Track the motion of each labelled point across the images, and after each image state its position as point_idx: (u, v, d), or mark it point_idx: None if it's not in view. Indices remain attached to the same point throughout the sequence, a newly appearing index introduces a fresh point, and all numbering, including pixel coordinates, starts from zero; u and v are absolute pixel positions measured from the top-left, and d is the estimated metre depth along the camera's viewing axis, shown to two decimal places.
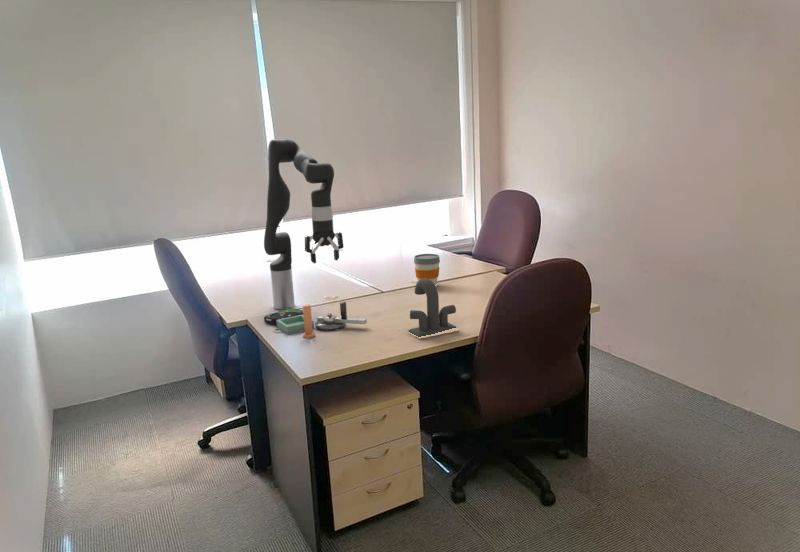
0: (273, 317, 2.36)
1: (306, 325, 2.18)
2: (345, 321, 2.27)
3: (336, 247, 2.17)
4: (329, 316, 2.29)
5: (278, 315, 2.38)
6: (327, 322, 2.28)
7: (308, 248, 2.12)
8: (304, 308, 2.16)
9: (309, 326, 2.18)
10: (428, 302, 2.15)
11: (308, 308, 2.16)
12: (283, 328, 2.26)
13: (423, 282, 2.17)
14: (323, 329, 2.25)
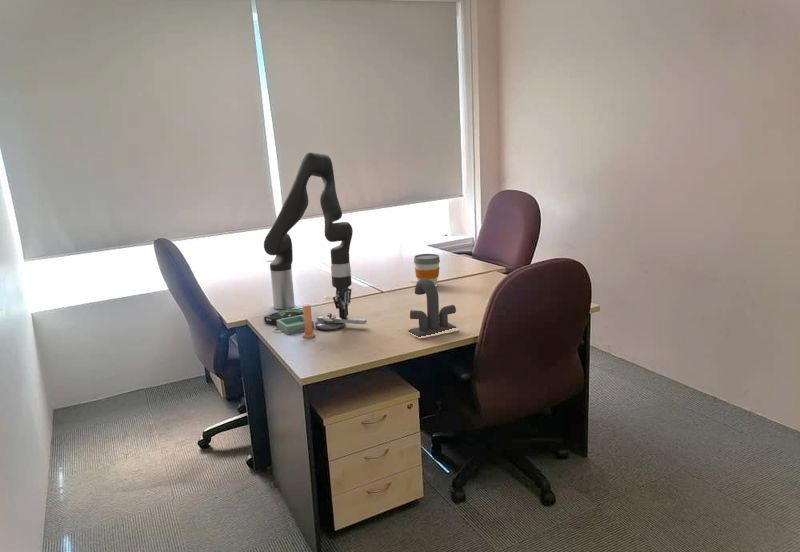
0: (273, 317, 2.36)
1: (306, 325, 2.18)
2: (345, 321, 2.27)
3: None
4: (329, 316, 2.29)
5: (278, 315, 2.38)
6: (327, 322, 2.28)
7: None
8: (304, 308, 2.16)
9: (309, 326, 2.18)
10: (428, 302, 2.15)
11: (308, 308, 2.16)
12: (283, 328, 2.26)
13: (423, 282, 2.17)
14: (323, 329, 2.25)
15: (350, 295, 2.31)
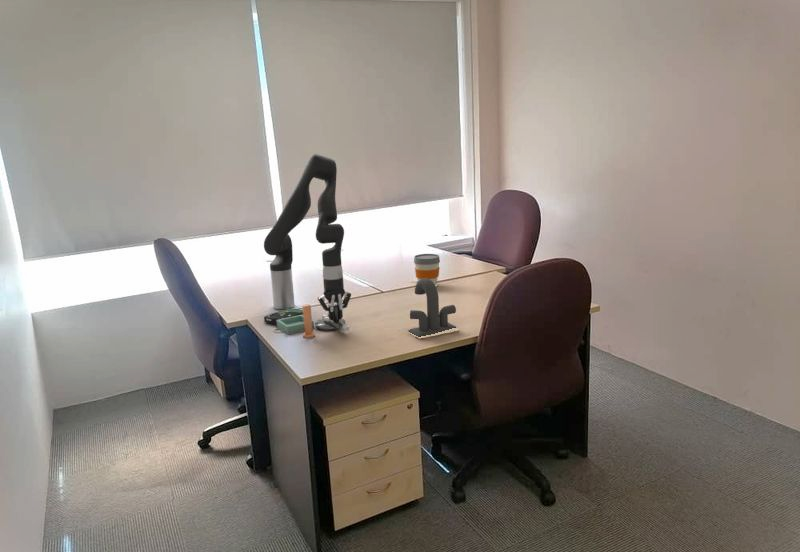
0: (273, 317, 2.36)
1: (306, 325, 2.18)
2: (334, 324, 2.24)
3: None
4: (328, 316, 2.29)
5: (278, 315, 2.38)
6: (324, 321, 2.29)
7: None
8: (304, 308, 2.16)
9: (309, 326, 2.18)
10: (428, 302, 2.15)
11: (308, 308, 2.16)
12: (283, 328, 2.26)
13: (423, 282, 2.17)
14: (323, 329, 2.25)
15: (348, 300, 2.25)
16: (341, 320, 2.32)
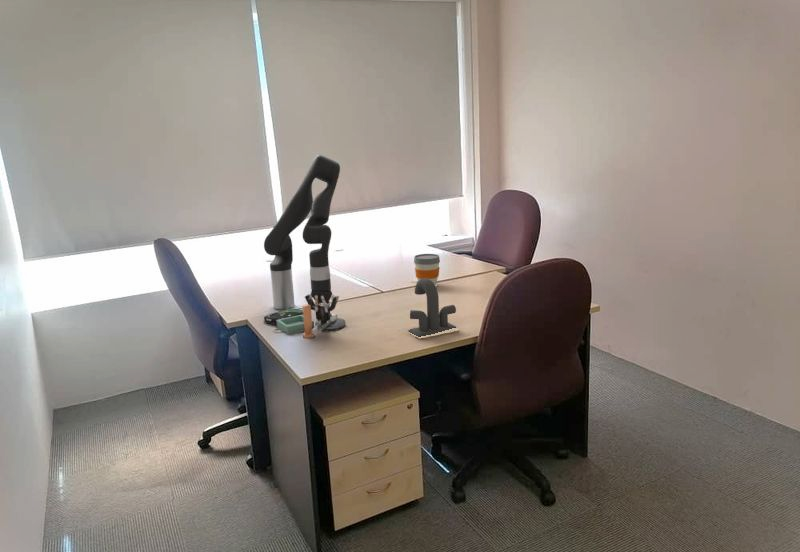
0: (273, 317, 2.36)
1: (306, 325, 2.18)
2: None
3: None
4: None
5: (278, 315, 2.38)
6: None
7: None
8: (304, 308, 2.16)
9: (309, 326, 2.18)
10: (428, 302, 2.15)
11: (308, 308, 2.16)
12: (283, 328, 2.26)
13: (423, 282, 2.17)
14: (323, 329, 2.25)
15: (333, 303, 2.20)
16: (341, 320, 2.32)
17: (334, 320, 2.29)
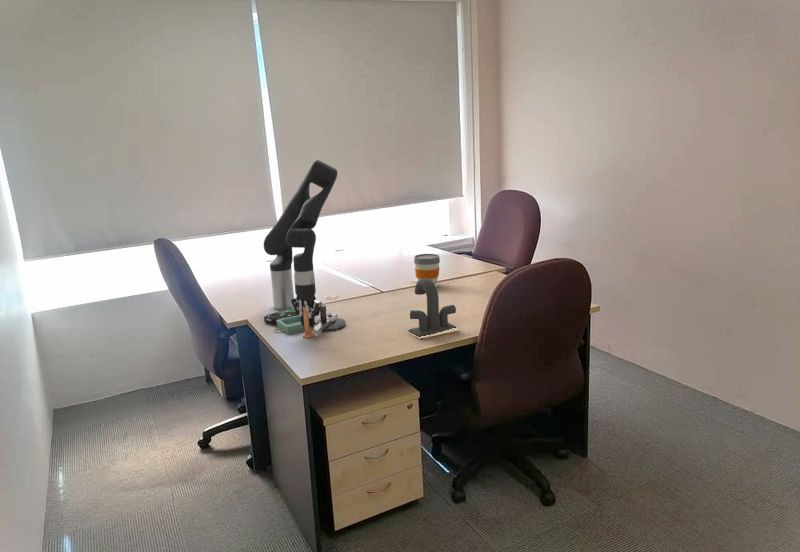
0: (273, 317, 2.36)
1: (306, 325, 2.18)
2: None
3: None
4: (327, 315, 2.30)
5: (278, 315, 2.38)
6: None
7: None
8: (304, 308, 2.16)
9: None
10: (428, 302, 2.15)
11: None
12: (283, 328, 2.26)
13: (423, 282, 2.17)
14: (323, 329, 2.25)
15: (315, 309, 2.14)
16: (341, 320, 2.32)
17: (334, 320, 2.29)
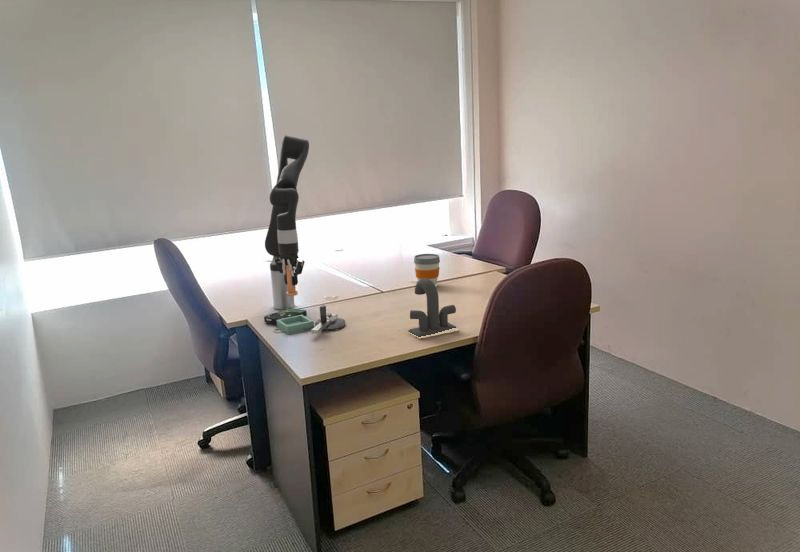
0: (273, 317, 2.36)
1: (289, 283, 2.25)
2: None
3: None
4: (327, 315, 2.30)
5: (278, 315, 2.38)
6: None
7: None
8: (287, 267, 2.23)
9: None
10: (428, 302, 2.15)
11: None
12: (283, 328, 2.26)
13: (423, 282, 2.17)
14: (323, 329, 2.25)
15: (298, 268, 2.21)
16: (341, 320, 2.32)
17: (334, 320, 2.29)
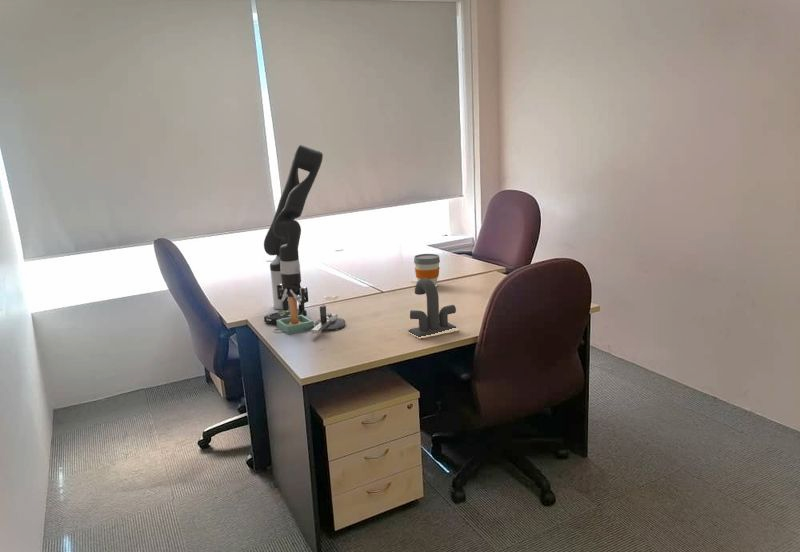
0: (273, 317, 2.36)
1: (292, 315, 2.28)
2: None
3: None
4: (327, 315, 2.30)
5: (278, 315, 2.38)
6: None
7: None
8: (290, 298, 2.26)
9: (295, 316, 2.28)
10: (428, 302, 2.15)
11: (294, 298, 2.26)
12: (283, 328, 2.26)
13: (423, 282, 2.17)
14: (323, 329, 2.25)
15: (302, 295, 2.23)
16: (341, 320, 2.32)
17: (334, 320, 2.29)
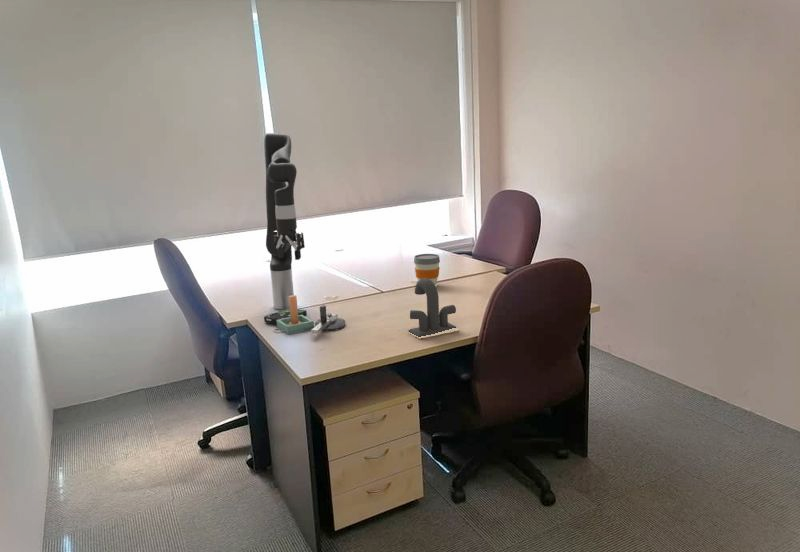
0: (273, 317, 2.36)
1: (292, 315, 2.28)
2: None
3: None
4: (327, 315, 2.30)
5: (278, 315, 2.38)
6: None
7: None
8: (290, 298, 2.26)
9: (295, 316, 2.28)
10: (428, 302, 2.15)
11: (294, 298, 2.26)
12: (283, 328, 2.26)
13: (423, 282, 2.17)
14: (323, 329, 2.25)
15: (298, 240, 2.17)
16: (341, 320, 2.32)
17: (334, 320, 2.29)
